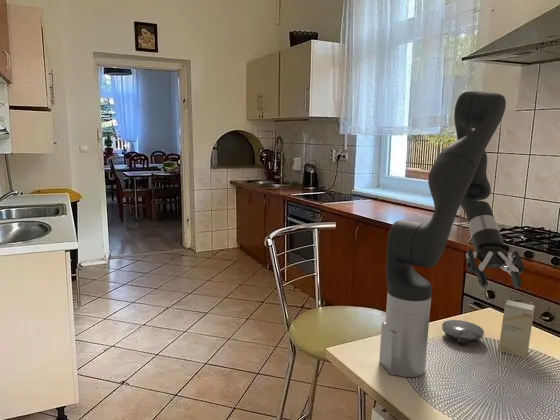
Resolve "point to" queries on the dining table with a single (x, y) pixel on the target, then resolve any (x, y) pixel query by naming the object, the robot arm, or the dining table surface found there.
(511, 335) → the skincare box
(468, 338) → the dark gray bowl
